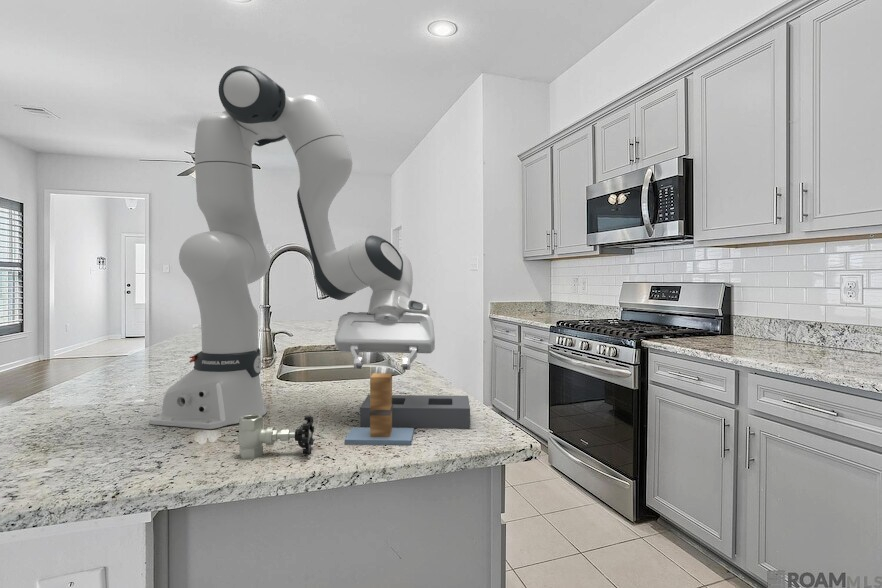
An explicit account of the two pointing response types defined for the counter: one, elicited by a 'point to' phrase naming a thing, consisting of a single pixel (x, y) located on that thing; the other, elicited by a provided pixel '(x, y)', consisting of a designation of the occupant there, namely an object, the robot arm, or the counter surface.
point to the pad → (396, 438)
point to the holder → (424, 411)
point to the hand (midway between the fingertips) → (381, 367)
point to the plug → (381, 405)
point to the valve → (270, 436)
